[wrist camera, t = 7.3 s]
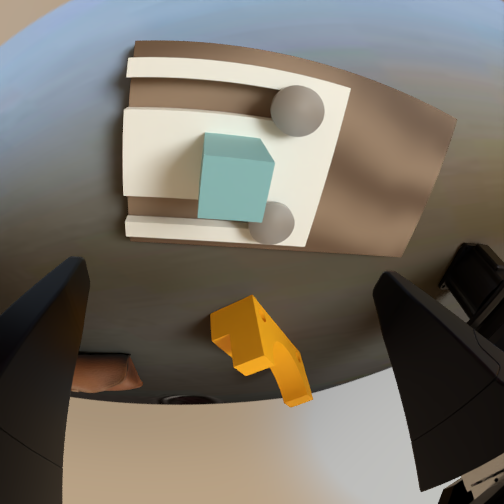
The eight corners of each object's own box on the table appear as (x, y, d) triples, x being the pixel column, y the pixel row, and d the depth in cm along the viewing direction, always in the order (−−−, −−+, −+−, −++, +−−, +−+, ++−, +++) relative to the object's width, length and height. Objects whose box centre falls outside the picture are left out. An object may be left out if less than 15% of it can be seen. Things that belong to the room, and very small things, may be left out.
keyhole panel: (301, 240, 21) (322, 286, 17) (128, 229, 18) (111, 278, 14) (344, 86, 14) (388, 100, 11) (132, 57, 12) (102, 58, 8)
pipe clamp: (210, 312, 26) (214, 373, 21) (251, 293, 26) (264, 355, 20) (266, 364, 33) (276, 412, 28) (299, 351, 33) (313, 399, 28)
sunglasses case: (38, 377, 31) (17, 399, 24) (25, 333, 30) (0, 351, 24) (147, 386, 33) (138, 416, 27) (138, 338, 33) (124, 362, 26)
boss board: (394, 249, 25) (410, 270, 22) (133, 231, 20) (125, 257, 18) (447, 115, 17) (473, 126, 15) (140, 42, 12) (126, 38, 10)
